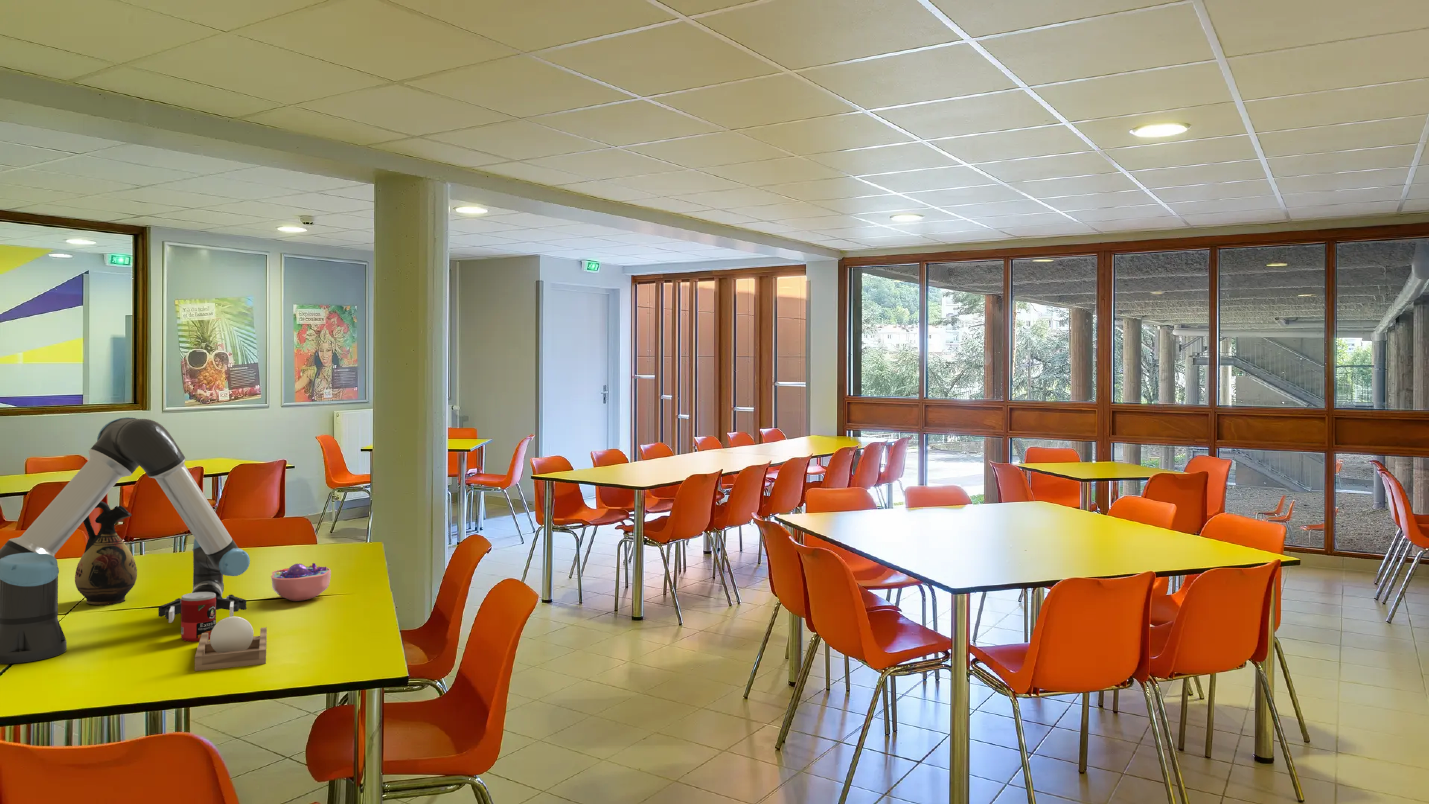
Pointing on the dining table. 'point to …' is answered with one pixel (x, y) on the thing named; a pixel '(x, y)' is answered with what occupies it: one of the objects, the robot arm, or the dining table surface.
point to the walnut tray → (230, 654)
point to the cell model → (301, 581)
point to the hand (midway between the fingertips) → (201, 614)
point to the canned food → (197, 615)
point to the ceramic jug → (106, 561)
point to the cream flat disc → (231, 635)
